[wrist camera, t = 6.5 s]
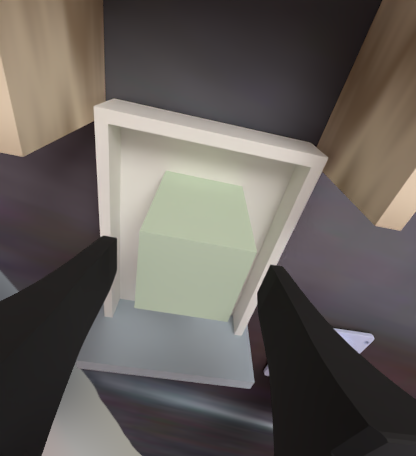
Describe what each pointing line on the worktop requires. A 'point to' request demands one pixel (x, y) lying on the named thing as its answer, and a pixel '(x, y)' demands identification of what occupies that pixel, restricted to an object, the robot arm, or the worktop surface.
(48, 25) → the dock
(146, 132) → the tray
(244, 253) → the block
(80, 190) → the worktop surface
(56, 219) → the worktop surface
